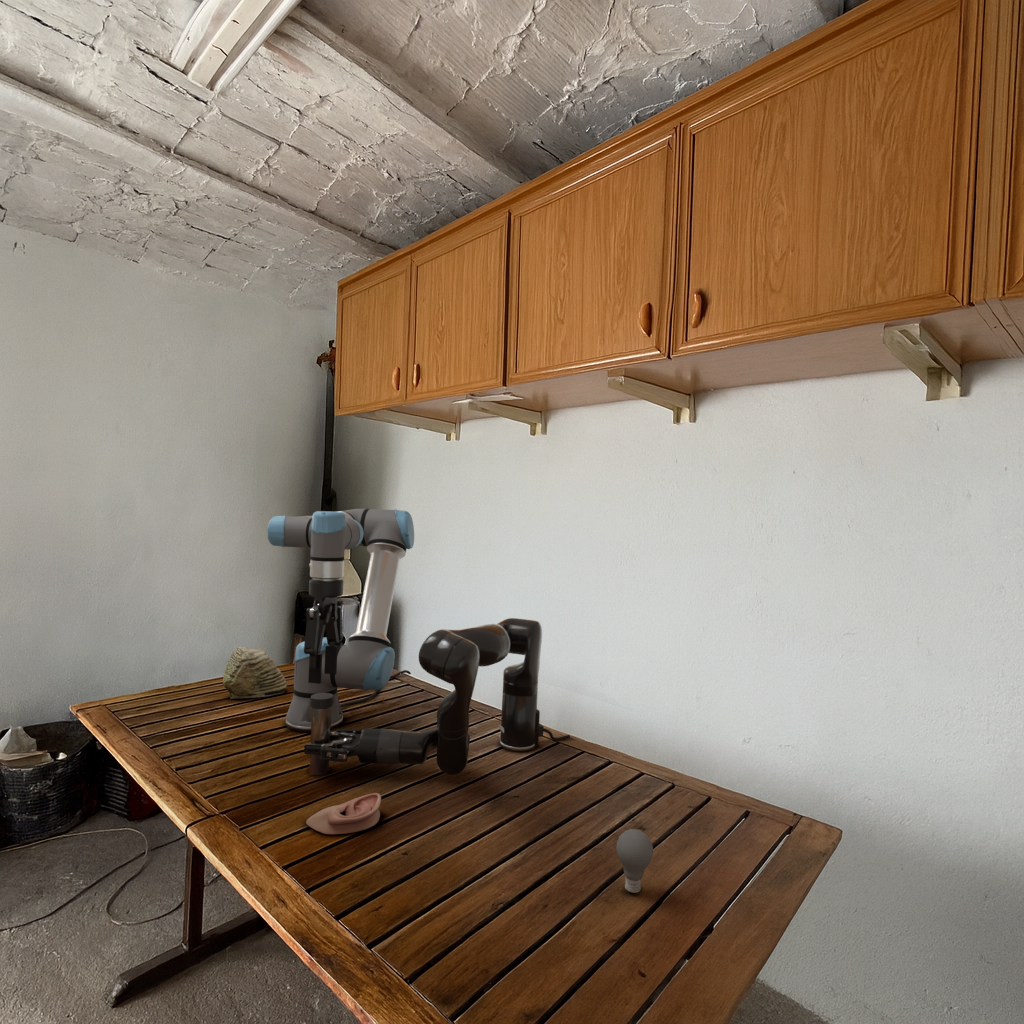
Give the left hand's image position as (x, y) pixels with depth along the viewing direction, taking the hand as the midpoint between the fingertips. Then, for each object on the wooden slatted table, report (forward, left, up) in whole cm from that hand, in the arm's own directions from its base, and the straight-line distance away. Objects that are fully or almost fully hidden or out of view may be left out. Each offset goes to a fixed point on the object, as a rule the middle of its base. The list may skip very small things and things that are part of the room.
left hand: (322, 677), depth 146 cm
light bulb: (-9, +76, -22) cm, 79 cm away
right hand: (+2, -2, -15) cm, 15 cm away
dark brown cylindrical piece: (0, 0, -22) cm, 22 cm away
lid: (0, 0, -5) cm, 5 cm away
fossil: (-18, -61, -22) cm, 67 cm away
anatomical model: (+10, +23, -22) cm, 33 cm away
